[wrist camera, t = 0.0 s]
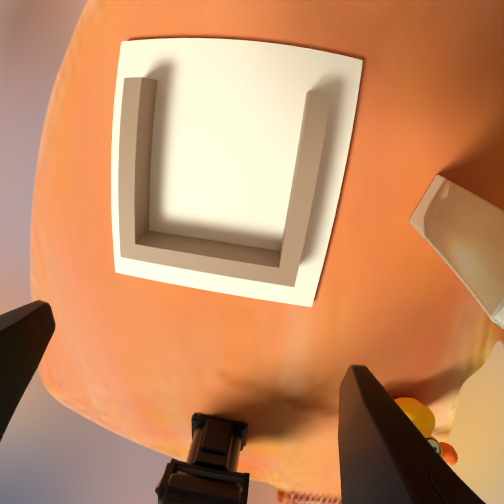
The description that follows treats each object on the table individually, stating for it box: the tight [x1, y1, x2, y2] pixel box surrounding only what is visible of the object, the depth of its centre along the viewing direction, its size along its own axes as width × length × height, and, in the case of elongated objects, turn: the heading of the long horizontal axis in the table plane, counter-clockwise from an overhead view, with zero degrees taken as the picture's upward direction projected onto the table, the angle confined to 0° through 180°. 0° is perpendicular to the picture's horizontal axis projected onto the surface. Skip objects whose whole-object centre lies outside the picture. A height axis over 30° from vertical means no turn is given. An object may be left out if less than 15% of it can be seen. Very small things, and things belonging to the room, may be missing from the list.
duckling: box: [394, 397, 458, 465], centre depth 24 cm, size 11×5×10 cm, turn 83°
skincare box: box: [409, 174, 504, 329], centre depth 15 cm, size 6×4×12 cm
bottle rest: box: [111, 38, 363, 307], centre depth 19 cm, size 18×16×3 cm
